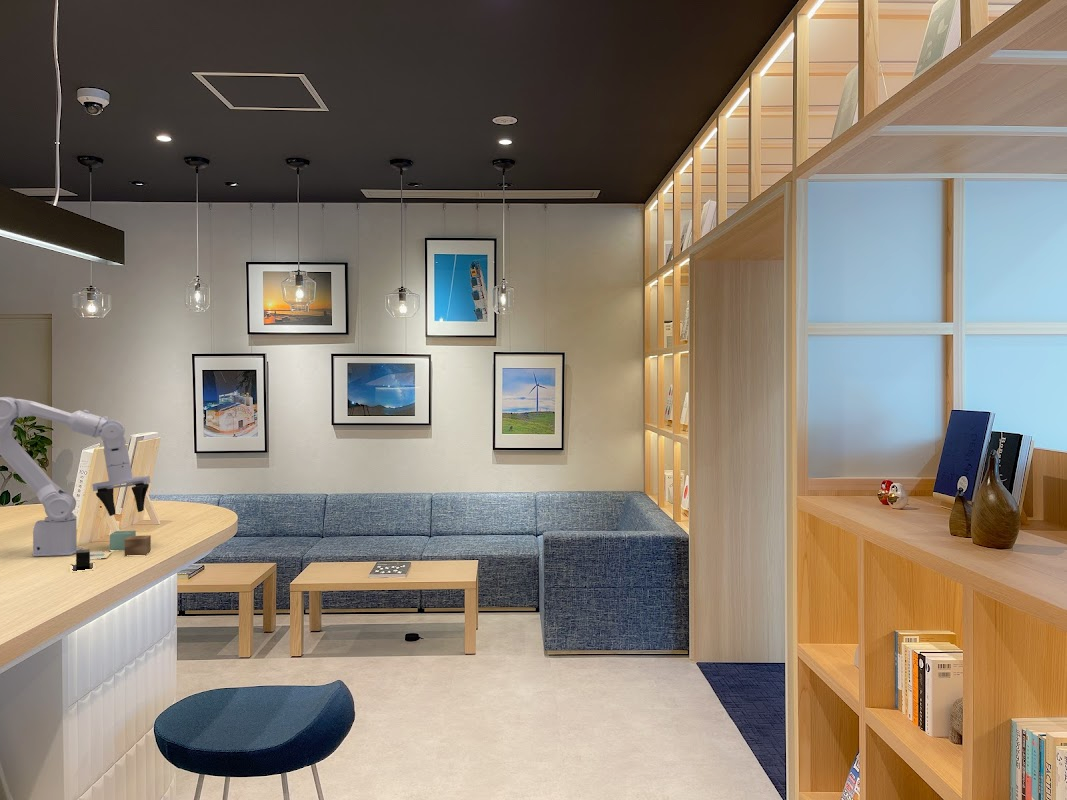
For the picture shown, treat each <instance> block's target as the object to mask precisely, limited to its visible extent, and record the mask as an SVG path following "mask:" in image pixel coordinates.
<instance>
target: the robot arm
mask: <svg viewBox="0 0 1067 800" xmlns="http://www.w3.org/2000/svg"><path fill="white" fill-rule="evenodd" d="M25 417H37V418H42V419H44V420H49V421H53V422H57V423H60V424H64V425H67V426H68V428H69V430H70V431H71V432H75V433H78V434H83V435H85V436H89V437H91V438H92V437H93V438H96V439H97V438H99V437H100V438H101V440H102V442H103V448H104V449H103V455H104V461H105V466H106V472H107V477H108V480H107V481H103V482H96V483H92V484H91V486H92V491H93V492H96V493H95V495H96V497H97V498H98V500H100V501H101V503H102V504H103V506H104V507H105V509H106V511H107V513H108V515H109V517H111V516H114V515H116V507H115V502H114V501H115V500H114V489H117V488H124V487H131V490H132V493H133V496H134V500H135V505H136V510H137V512H138V513H140V512H141V513H142V512H143V511H144V510H145V508H144V507H145V500H146V495H147V492H148V488H149V484H151V478H150V477H151V476H150V475H144V476H134V477H133V473H132V468H131V466H132V465H131V459H130V456H129V450H128V446H127V441H126V438H125V437H124V435H125V427H124V426H125V425H123V424H122V423H121V422H120V421H118V420H117V419H109V417H108V416H105V415H104V416H103V417H102V416H100V415H97V414H93V413H91V412H90V410H87V409H84V410H80V409H79V410H76V411H74V412H68V411H65V410H62V409H59V408H56V407H52V406H49V405H47V404H43V403H40V402H36V401H34V400H27V399H23V398H14V397H13V396H3V397H2V396H1V397H0V456H1V457H2V458H3V459H4V461H6V463H7V464H8V465H9V466H10V467H11V468H12V470H13V471H14V472H15V473H17V475H18V476H19V477H20V478H21V479H22V481H23V482H25V484H26V485H27V486H28V487H29V488H30V489H31V491H33V493H34V494H35V495H36V497H37V499H38V501H39V502H40V504H42V506H43V509H44V512H45V515H46V516H45V518H44V519H43V520H42V519H41V520H37V521H36V522H35V523H34V526H33V531H32V553H33V554H31V557H53V556H54V557H55V556H57V557H58V556H72V555H74V554H76V550H83V547H77V544H78V543H77V531H78V529H77V525H78V524H77V522H78V521H77V516H76V515H75V514H74V513H73V511H74V510H75V509H76V507H77V501H76V498H75V496H74V495H72V494H71V493H69V492H66V491H65V490H63V489H62V488H61V487H60V486H59V485H58V484H56V483H55V482H54V481H53V480H52V479H51V478H50V477H49V476H48V474H46V472H45V471H44V470H43V469H42V468H41V467H40V466H39V464H37V462H36V461H35V460H34V459H33V458H32V456H30V454H29V453H28V452H27V451H26V449H24V447H22V446H21V444H20V443H19V442H18V441H17V440H16V439H15V438H14V436H13V430H14V427H15V423H16V421H17V420H18V419H19V418H25Z"/></svg>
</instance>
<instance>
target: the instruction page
mask: <svg viewBox="0 0 1067 800" xmlns="http://www.w3.org/2000/svg"><path fill="white" fill-rule="evenodd" d="M104 551H105V552H102V551H101V550H100V551H90V561H93V560H92V559H97V558H100V559H99V560H102V559H101V558H102V557H105V556H107V555H105V554H104V553H109V552H106V551H107V550H104ZM104 555H105V556H104Z"/></svg>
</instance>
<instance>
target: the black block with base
mask: <svg viewBox="0 0 1067 800" xmlns="http://www.w3.org/2000/svg"><path fill="white" fill-rule="evenodd" d="M90 552H91V550H90V549H89V548H88V549H86V548H85V549H82V550H76V553H75V557H76V558H75V563H74V564H75V565H73V564H71V565H72V566H73V569H72V570H73V571H77V570H85V569H92V568H93V563H94V562H91V560H90Z"/></svg>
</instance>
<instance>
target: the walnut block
mask: <svg viewBox="0 0 1067 800" xmlns="http://www.w3.org/2000/svg"><path fill="white" fill-rule="evenodd" d="M151 539H152V536H151V535H136V536H130V537H128V538H126V539H125V550H124V557H128V556H127V555H145V556H147V555H148V554H150V553H149V552H150V551H151V552H152V550H151V549H152V547H151V545H152V543H151V542H152V540H151ZM147 553H148V554H147ZM146 554H147V555H146Z"/></svg>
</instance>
